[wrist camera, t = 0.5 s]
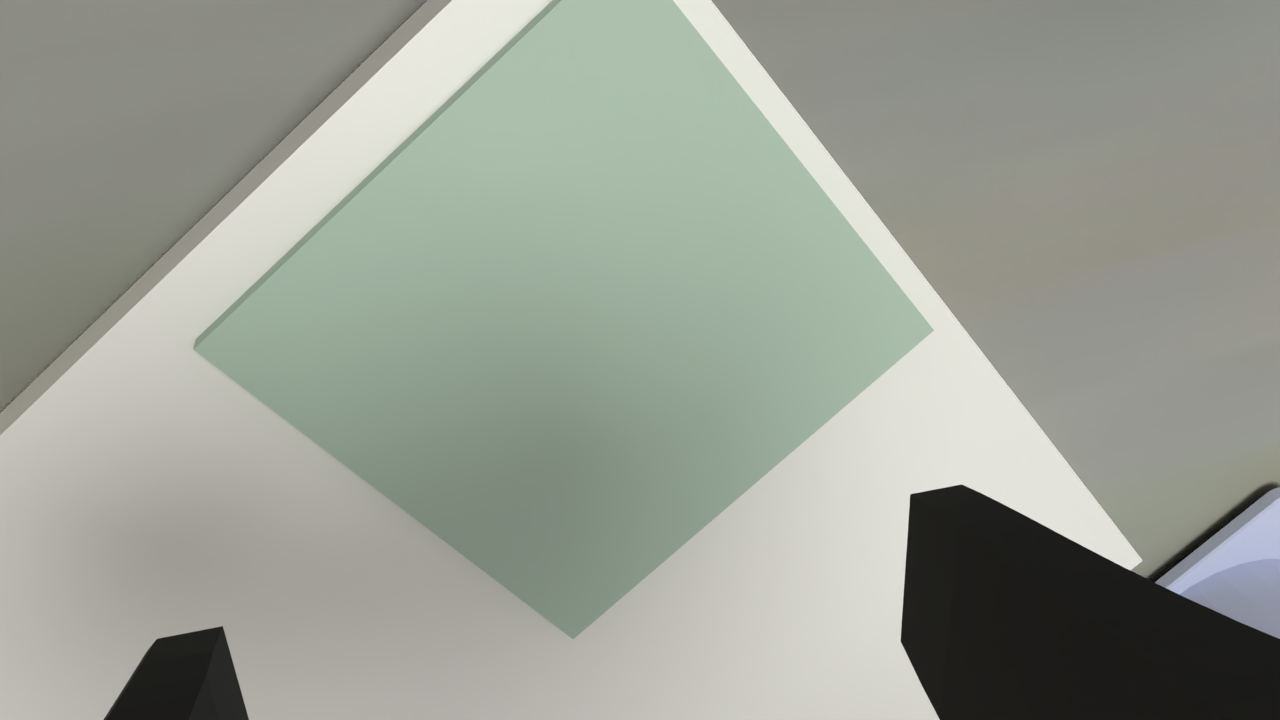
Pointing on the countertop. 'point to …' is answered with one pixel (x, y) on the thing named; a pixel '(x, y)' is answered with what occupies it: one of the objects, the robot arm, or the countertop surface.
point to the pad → (573, 309)
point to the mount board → (413, 555)
